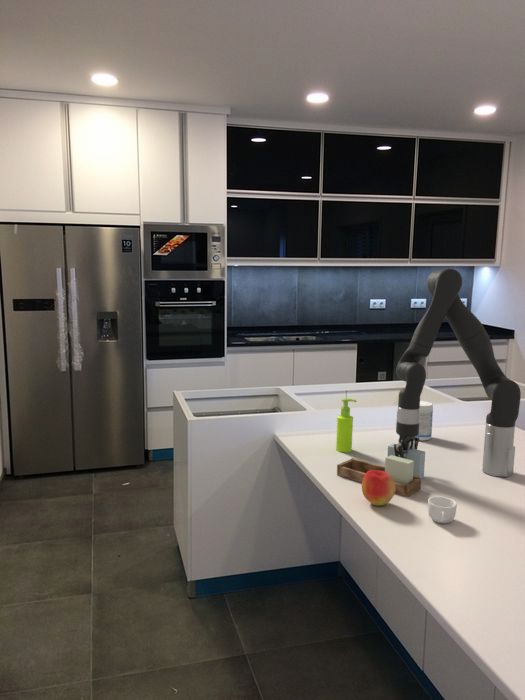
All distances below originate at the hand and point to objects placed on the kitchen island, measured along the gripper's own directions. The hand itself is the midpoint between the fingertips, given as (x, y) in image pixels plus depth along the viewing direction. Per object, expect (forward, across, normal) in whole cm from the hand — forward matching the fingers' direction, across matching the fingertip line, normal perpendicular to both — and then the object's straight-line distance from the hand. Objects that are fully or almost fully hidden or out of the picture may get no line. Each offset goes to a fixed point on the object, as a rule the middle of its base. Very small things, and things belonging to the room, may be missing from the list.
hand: (405, 469), depth 193 cm
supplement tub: (+2, +42, +16) cm, 45 cm away
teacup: (+2, -26, -25) cm, 36 cm away
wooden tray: (+2, -13, +3) cm, 13 cm away
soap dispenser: (+2, +7, +29) cm, 30 cm away
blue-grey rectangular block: (+2, 0, 0) cm, 2 cm away
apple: (+2, -28, -6) cm, 29 cm away
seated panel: (+1, -13, -4) cm, 14 cm away
